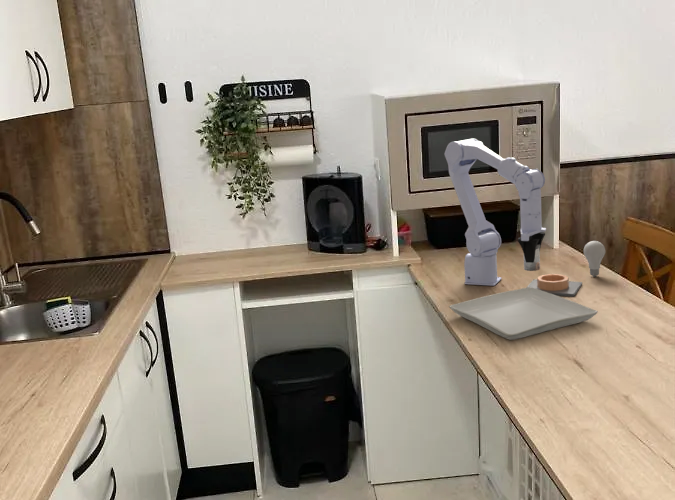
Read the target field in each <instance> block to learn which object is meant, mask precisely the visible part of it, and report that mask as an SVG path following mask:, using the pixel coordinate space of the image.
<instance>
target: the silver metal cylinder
mask: <svg viewBox="0 0 675 500" xmlns="http://www.w3.org/2000/svg"><path fill="white" fill-rule="evenodd" d="M539 248H540V244H537V246H536V251H535V259H534V262H533V263H529V262H526V260H525V257H524V256H523V270H525V271H529V272H536V271H539V270H541V259H540V258H541V257H540V256H541V255H540V254H541V248H540V250H539Z"/></svg>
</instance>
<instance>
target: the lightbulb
mask: <svg viewBox="0 0 675 500" xmlns="http://www.w3.org/2000/svg"><path fill="white" fill-rule="evenodd" d="M583 254H584V257H585V259H586V260H587V261H586V262H588V268H589V275H590V276H592V277H594V278H595V277H597V276H599V275H600V269H601V263H602V260H603V258H604V257H605V255H606V248H605V245H604V244H603V243H602V242H600V241H598V240H591V241H589V242H587V243H586V244H585V245H584V248H583Z"/></svg>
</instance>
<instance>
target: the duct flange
mask: <svg viewBox="0 0 675 500" xmlns="http://www.w3.org/2000/svg"><path fill="white" fill-rule="evenodd" d="M582 286H583V282H582V281H574V280H573V281H572V280H570V281H569V277H568V276H567V275H565V274H561V273H560V274H559V273H549V274H548V273H546V274H543V275H539V276H537V278H535V279H532V281H531V282H530V283H528V285H527V286H526V287H525V288H528V287H532V288H535V289H538V290H541V291H544V292H547V293H550V294H553V295H556V296H559V297H572V298H573V297H575V296H576V295H577V293H578V291H579V290H580V288H581V287H582Z"/></svg>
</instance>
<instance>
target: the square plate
mask: <svg viewBox="0 0 675 500" xmlns="http://www.w3.org/2000/svg"><path fill="white" fill-rule="evenodd" d="M448 308H450V309H451V310H452V311H453V312H454V313H455V314H457V315H459V316H460V317H462V318H463V319H466V320H469V321H471V322H473V323H475V324H477V325H479V326H480V327H483V328H484V329H486V330H489V331H490V332H492V333H494V334H495V335H498V336H500V337H502V338H505V339H507V340H508V341H509V340H510V341H513V340H519V339H522V338H527V337H530V336H533V335H538V334H541V333H545V332H548V331H552V330H557V329H559V328H564V327H567V326H572V325H576V324H579V323H583V322H586V321H588V320H590V319H592V318H593V317H595V316H596V315H597V314H598V313H599V311H598V310H597V309H593V308H591V307H588V306H585V305H583V304H580V303H579V302H575V301H572V300H570V299H567V298H564V297H563V296H556V295H553V294H550V293H547V292H544V291H541V290H538V289H535V288H532V287H528V288H526V287H523V288H519V289H512V290H508V291H503V292H498V293H493V294H490V295H485V296H484V295H483V296H481V297H477V298H472V299H469V300H465V301H461V302H459V303H455V304H451V305H449V306H448Z"/></svg>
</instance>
